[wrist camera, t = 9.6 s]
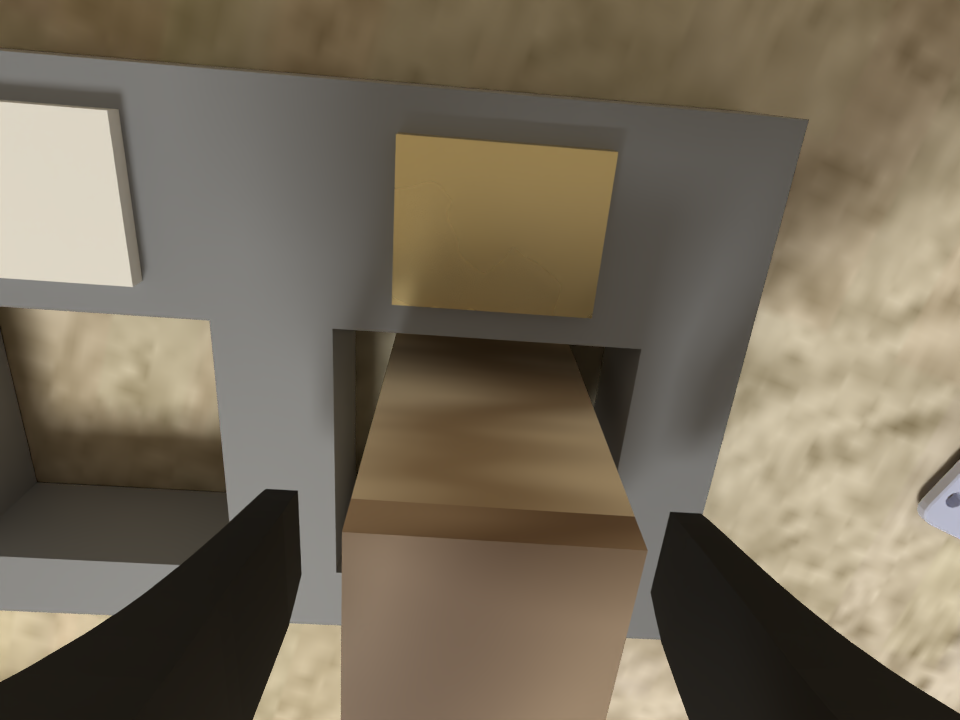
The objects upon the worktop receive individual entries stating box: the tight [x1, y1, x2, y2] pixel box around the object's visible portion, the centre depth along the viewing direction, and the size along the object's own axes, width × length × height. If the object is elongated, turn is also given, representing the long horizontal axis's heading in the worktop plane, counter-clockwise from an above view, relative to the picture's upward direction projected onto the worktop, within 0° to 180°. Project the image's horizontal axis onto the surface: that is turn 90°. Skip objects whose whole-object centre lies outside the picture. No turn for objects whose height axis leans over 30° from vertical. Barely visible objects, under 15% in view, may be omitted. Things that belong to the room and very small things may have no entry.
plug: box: [341, 333, 648, 720], centre depth 14 cm, size 4×4×8 cm
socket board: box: [0, 48, 809, 640], centre depth 15 cm, size 20×13×3 cm, turn 85°
